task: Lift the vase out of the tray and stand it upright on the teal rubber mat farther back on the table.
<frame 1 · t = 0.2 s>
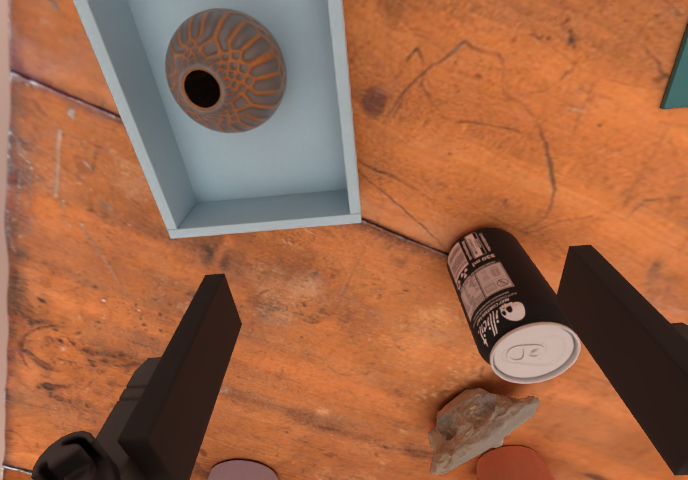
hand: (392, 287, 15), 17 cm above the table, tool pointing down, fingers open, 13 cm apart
potted plant: (506, 460, 54), on the table
greyish purple upright cylinder: (244, 474, 57), on the table
beverage can: (480, 252, 35), on the table
grey rock: (472, 402, 47), on the table
vase: (244, 65, 26), resting on tray
tray: (245, 65, 27), on the table
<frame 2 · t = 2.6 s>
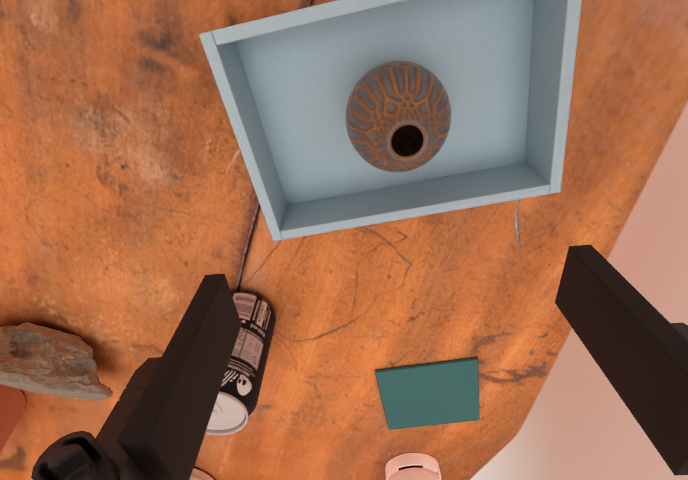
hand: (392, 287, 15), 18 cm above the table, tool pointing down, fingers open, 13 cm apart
mat: (429, 394, 47), on the table
beverage can: (246, 309, 40), on the table
grey rock: (60, 344, 43), on the table
vase: (391, 105, 28), resting on tray
bottle: (411, 466, 57), on the table
tray: (391, 104, 29), on the table
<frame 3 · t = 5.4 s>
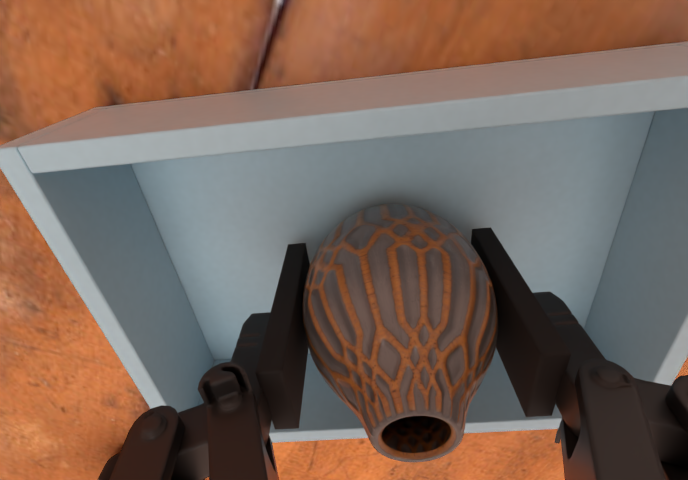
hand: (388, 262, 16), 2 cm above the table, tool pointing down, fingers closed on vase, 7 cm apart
beverage can: (158, 461, 28), on the table
vase: (386, 247, 17), resting on tray, touching gripper
tray: (385, 243, 17), on the table
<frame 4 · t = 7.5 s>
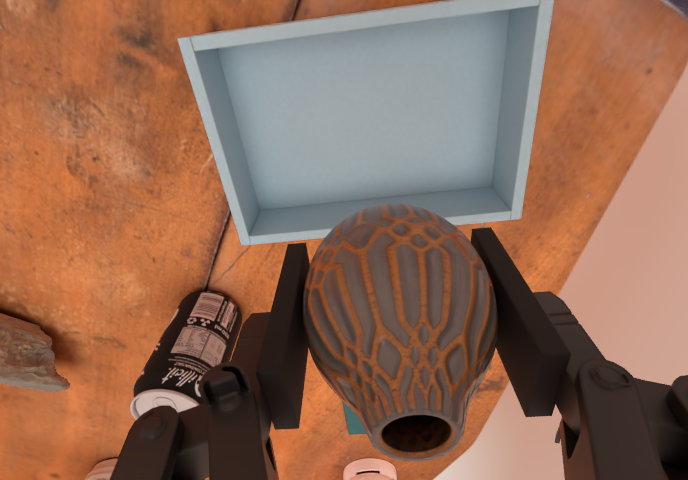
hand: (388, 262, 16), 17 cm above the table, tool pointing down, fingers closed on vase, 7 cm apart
mat: (390, 402, 48), on the table
beverage can: (213, 309, 40), on the table
grey rock: (18, 332, 42), on the table
jar: (135, 476, 59), on the table
vase: (386, 247, 17), point 15 cm above the table, touching gripper
bottle: (369, 470, 58), on the table
tray: (366, 120, 29), on the table
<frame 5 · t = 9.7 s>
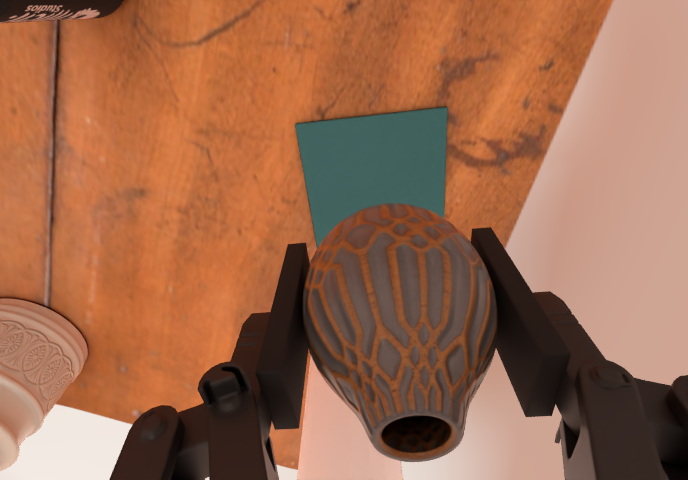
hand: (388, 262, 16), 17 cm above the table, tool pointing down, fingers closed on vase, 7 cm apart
mat: (375, 184, 33), on the table
jar: (34, 336, 44), on the table
vase: (386, 247, 17), point 16 cm above the table, touching gripper
bottle: (349, 325, 42), on the table
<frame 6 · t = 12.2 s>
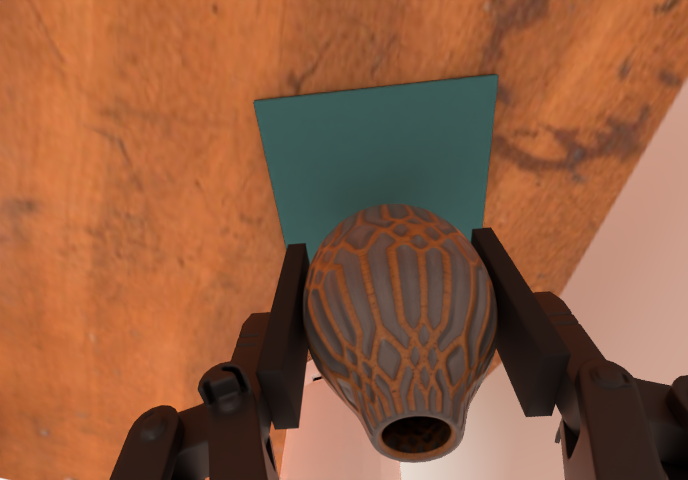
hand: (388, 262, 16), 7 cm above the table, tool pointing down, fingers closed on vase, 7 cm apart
mat: (379, 196, 22), on the table
vase: (386, 247, 17), point 5 cm above the table, touching gripper
bottle: (342, 384, 31), on the table
when the fingers open (1 cm above the table, at t = 13.9 s): vase stays where it is, resting on mat.
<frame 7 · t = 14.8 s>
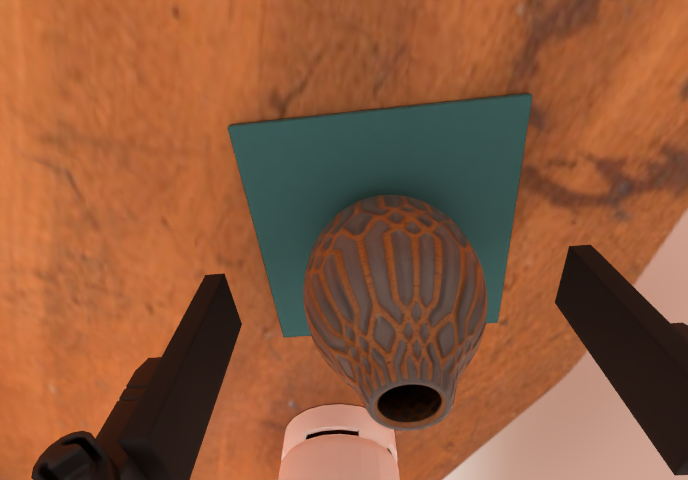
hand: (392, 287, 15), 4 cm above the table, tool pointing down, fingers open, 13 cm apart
mat: (382, 235, 18), on the table
vase: (383, 237, 18), resting on mat
bottle: (339, 435, 27), on the table
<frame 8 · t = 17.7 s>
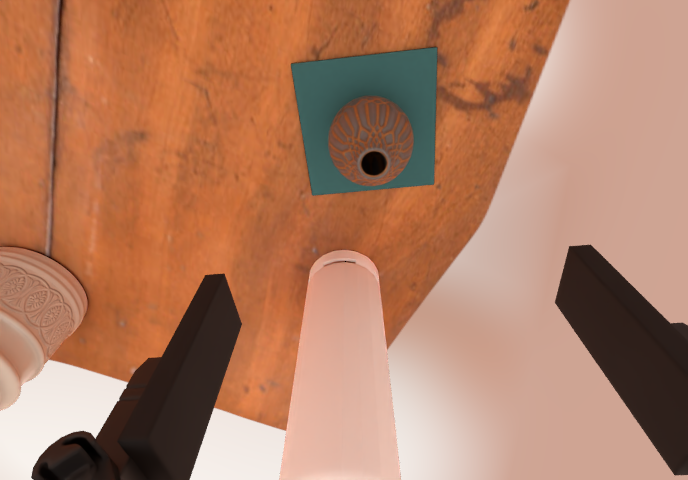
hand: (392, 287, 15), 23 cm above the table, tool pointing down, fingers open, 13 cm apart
mat: (368, 128, 34), on the table
jar: (35, 288, 45), on the table
vase: (368, 128, 34), resting on mat
bottle: (344, 277, 43), on the table
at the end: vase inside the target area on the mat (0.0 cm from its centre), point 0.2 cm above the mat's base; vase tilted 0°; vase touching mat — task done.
